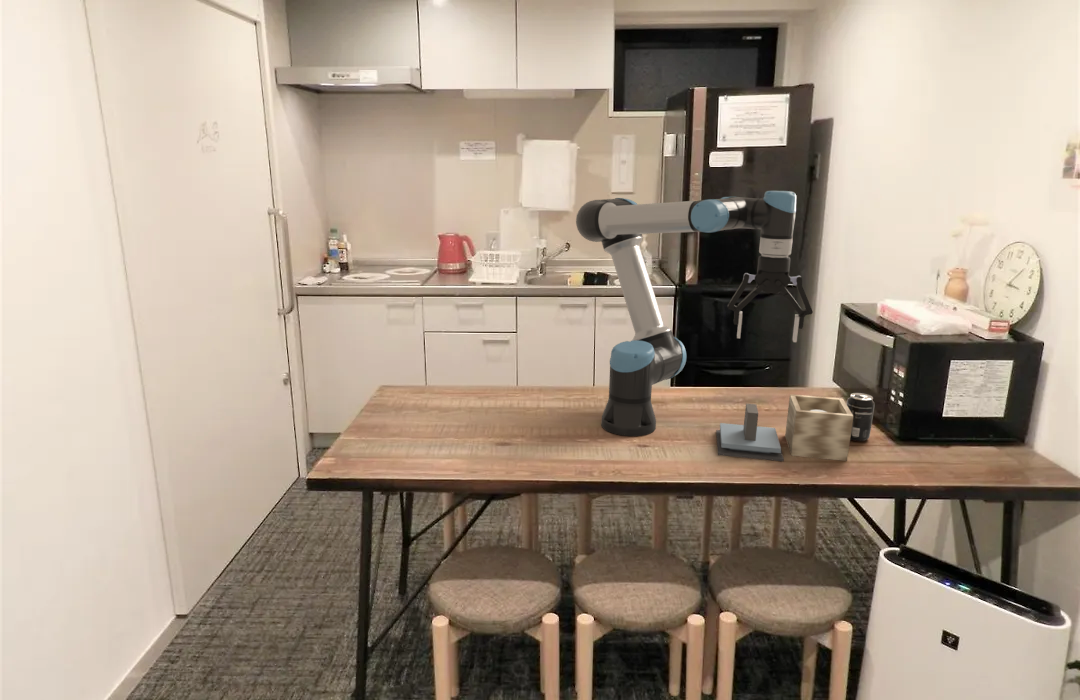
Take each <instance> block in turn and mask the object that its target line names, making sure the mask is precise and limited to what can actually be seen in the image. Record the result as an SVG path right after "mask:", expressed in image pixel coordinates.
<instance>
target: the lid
mask: <svg viewBox="0 0 1080 700" xmlns="http://www.w3.org/2000/svg"><path fill="white" fill-rule="evenodd" d="M758 420H759V410H758V406H757V404H756V403H745V412H744V420H743V424H736V423H735V424H734V423H723V422H720V423H719V430H720V435H721V447H722V448H730V449H731V450H741V451H751V452H762V453H770V452H773V453H781V451H782V447H781V444H780V440H779V437H778V433H777V430H776V427H771V426H770V427H769V426H768V427H767V426H759V425H758V422H759V421H758Z"/></svg>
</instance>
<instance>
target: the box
mask: <svg viewBox="0 0 1080 700" xmlns="http://www.w3.org/2000/svg"><path fill="white" fill-rule="evenodd" d="M811 410H823V411H826V412H818V411H811ZM786 417H787V418H786V425H785V434H784V437H785V439H786V440H785V441H786V443H787V446H788V449H789V454H790V456H791V457H803V458H811V459H812V458H814V459H823V460H824V459H825V460H834V461H844V462H845V461H846V462H847V461H848V455H849V449H850V442H851V440H850V437H851V430H852V423H853V415H852V413H851V411H850V409H849V408H848V406H847V402H846V401H845V400H844V398H841V397H839V398H838V397H827V396H818V395H817V396H814V395H805V394H804V395H802V394H791V393H790V394H789V401H788V408H787V416H786Z"/></svg>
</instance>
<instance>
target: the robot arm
mask: <svg viewBox="0 0 1080 700" xmlns="http://www.w3.org/2000/svg"><path fill="white" fill-rule="evenodd" d="M796 213H797V195H796V193H795V192H794V191H791V190H789V191H788V190H766V191H765V192H764V197H762V198H752V197H741V196H740V197H739V196H723V197H721V198H716V199H714V198H712V199H711V198H709V199H702V200H687V201H683V200H682V201H672V202H670V201H669V202H655V203H653V202H652V203H641V204H640V203H639V204H638V203H637V202H635V201H633V200H632V199H628V198H624V197H616V198H607V199H594V200H593V199H592V200H589V201H587V202H586V203H584V204H583V205H582V206H581V207H580V208H579V210H578V211H577V213H576V216H575V217H576V218H575V225H576V229H577V231H578V233H579V234H580V236H581V237H583V238H584V239H585V240H587V241H590V242H594V243H595V242H596V243H597V242H598V243H599V242H601V245H602V248H603V251H604V252H606V253H607V254H609V255H610V256H611V259H612V262H613V266H614V269H615V272H616V274H617V278H618V282H619V285H620V287H621V291H622V294H623V295H622V296H623V298H624V301H625V304H626V308H627V311H628V314H629V319H630V321H631V325H632V328H633V331H634V333H635V334H634V336H633V339H632V340H630V341H628V340H625V341H622V342H619V343H617V344H615V346H613V347H612V349H611V353H610V359H609V383H608V399H607V402H606V404H605V407H604V410H603V412H602V415H601V423H600V424H601V427H602V429H603V430H605V431H606V432H609V433H611V434H615V435H619V436H625V437H640V436H647V435H650V434H652V433H653V432H654V431H655V430H656V429H657V427H656V426H657V419H656V415H655V411H654V407H653V403H652V390H653V385H655V384H658V383H660V382H663V381H666V380H670V379H673V378H674V377H675V376H677V375H679V374H680V372H682V371H683V369H684V367H685V365H686V362H687V351H686V348H685V345H684V343H683V342H682V341H681V340H679V339H678V338H677V337H676V336H674V334H673V330H672V328H670V327H669V326H667V325H665V323H664V320H663V316H662V313H661V310H660V306H659V304H658V300H657V297H656V295H655V291H654V287H653V285H652V282H651V281H652V280H651V278H650V275H649V271H648V268H647V265H646V262H645V259H644V256H643V251H642V248H641V243H642V241H643V238H644V237H643V234H644V235H645V234H646V235H647V234H669V233H671V234H672V233H706V234H707V233H709V234H710V233H716V232H720V231H724V230H725V231H728V230H729V231H730V230H734V229H749V230H750V229H751V230H760V238H759V239H760V240H759V248H758V249H759V250H758V252H759V254H760V255H759V256H758V259H757V271H756V274H750V273H748V272H745V273H744V274H743V277H742V281H741V283H740V284H739V287H738V288H737V289H736V291H735V293H734V294H733V295H732V296H731V299H730V301H729V302H728V304H727V309H728V310H730V311H733V324H734V326H735V325H737V332H736V339H741V333H742V325H743V311H742V310H743V308H745V307H746V306H747V305H748V304H750V303H751V301H753V299H754V298H756V296H758V295H759V294H760V293H761V292H763V293H765V294H770V293H771V294H776V295H777V294H780V293H782V294H783V296H785V298H786V299H787V301H788V302H789V303H790V304H791V306H792V307H793V308H794V310H795V311H796V312H797V313H798V314H794V322H793V330H792V339H791V340H792V342H793V343H797V342H798V334H799V333H798V332H799V330H802V329H803V327H804V321H805V317H806V316H808V315H812V314H813V310H812V306H811V304H810V301H809V300H808V296H807V295H806V292H805V289H804V287H803V278H802V276H801V275H799V274H798V275H796V276H790V267H791V257H790V256H791V254H792V249H793V248H792V247H793V238H794V230H795V229H794V228H795V220H796ZM753 280H754V281H755V282H756V286H755V287H754V288H753V289H752V290H751V291H750V292H749V293H748V294H747V295H745V297H744V298H743V299H742V300H741V301H740V302H739V303H738V304H737V302H738V300H739V299H740V297H741V295H742V294H743V292H744V291H745V290H746V288H747V286H748V284H751V282H752V281H753ZM791 282H792V284H793V285H794V286H796V289H797V291H798V294H799V296H800V299H801V301H802V303H803V306H804V308H805V309H803V308H802V307H801V306H800V305H799V303H798V302H797V300H795V297H794V296H793V295H792V294H791V292H790V291H789V290H788V289H787V288H786V287H787V286H788V285H789V284H790V283H791ZM736 304H737V305H736Z"/></svg>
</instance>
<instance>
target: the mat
mask: <svg viewBox="0 0 1080 700" xmlns="http://www.w3.org/2000/svg"><path fill="white" fill-rule="evenodd" d="M715 434H716V447H717V448H716V449H717V455H718V456H724V457H736V458H747V459H755V460H766V461H774V460H775V461H776V462H777V461H778V462H784V461H785V458H784V454H783V451H782V450H781V453H773V452H770V453H762V452H751V451H741V450H731V449H730V448H722V447H721V435H720V429H716V431H715Z"/></svg>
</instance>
